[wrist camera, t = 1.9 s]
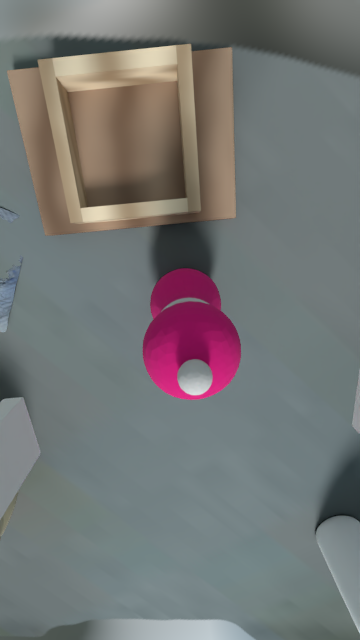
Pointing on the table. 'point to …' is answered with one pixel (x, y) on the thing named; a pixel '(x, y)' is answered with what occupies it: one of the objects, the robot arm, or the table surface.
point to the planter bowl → (7, 515)
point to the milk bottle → (343, 558)
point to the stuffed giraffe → (7, 281)
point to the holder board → (129, 137)
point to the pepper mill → (190, 337)
